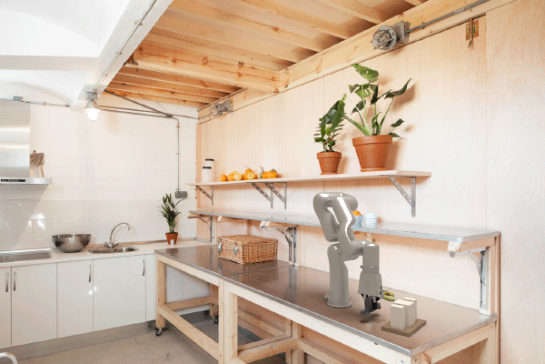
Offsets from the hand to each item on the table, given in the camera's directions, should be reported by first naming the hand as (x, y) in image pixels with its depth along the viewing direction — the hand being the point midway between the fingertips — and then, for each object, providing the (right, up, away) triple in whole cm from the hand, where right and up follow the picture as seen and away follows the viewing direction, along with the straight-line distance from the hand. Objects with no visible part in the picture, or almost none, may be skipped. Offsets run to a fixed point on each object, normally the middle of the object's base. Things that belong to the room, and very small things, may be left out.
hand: (370, 308), depth 170 cm
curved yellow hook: (+18, -5, +38) cm, 42 cm away
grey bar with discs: (0, -1, 0) cm, 1 cm away
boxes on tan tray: (+12, -4, -11) cm, 16 cm away
